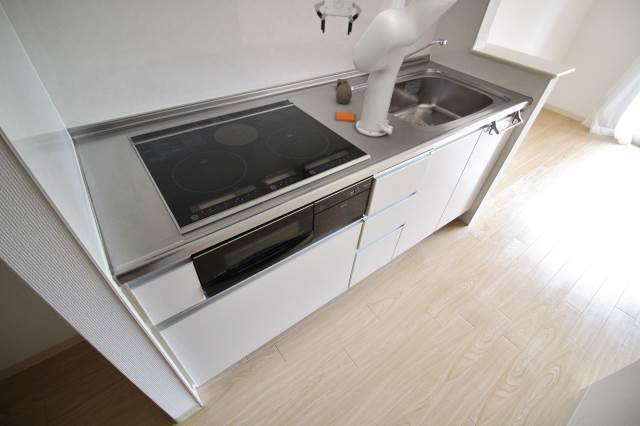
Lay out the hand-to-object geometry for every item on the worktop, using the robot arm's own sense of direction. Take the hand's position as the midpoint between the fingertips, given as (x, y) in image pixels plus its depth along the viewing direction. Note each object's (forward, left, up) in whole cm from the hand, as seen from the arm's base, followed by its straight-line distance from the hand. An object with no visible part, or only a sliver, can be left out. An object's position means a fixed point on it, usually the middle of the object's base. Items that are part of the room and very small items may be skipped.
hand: (335, 33), depth 110 cm
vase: (-4, -3, -26) cm, 27 cm away
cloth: (-15, +7, -26) cm, 31 cm away
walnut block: (+6, -14, -26) cm, 30 cm away
